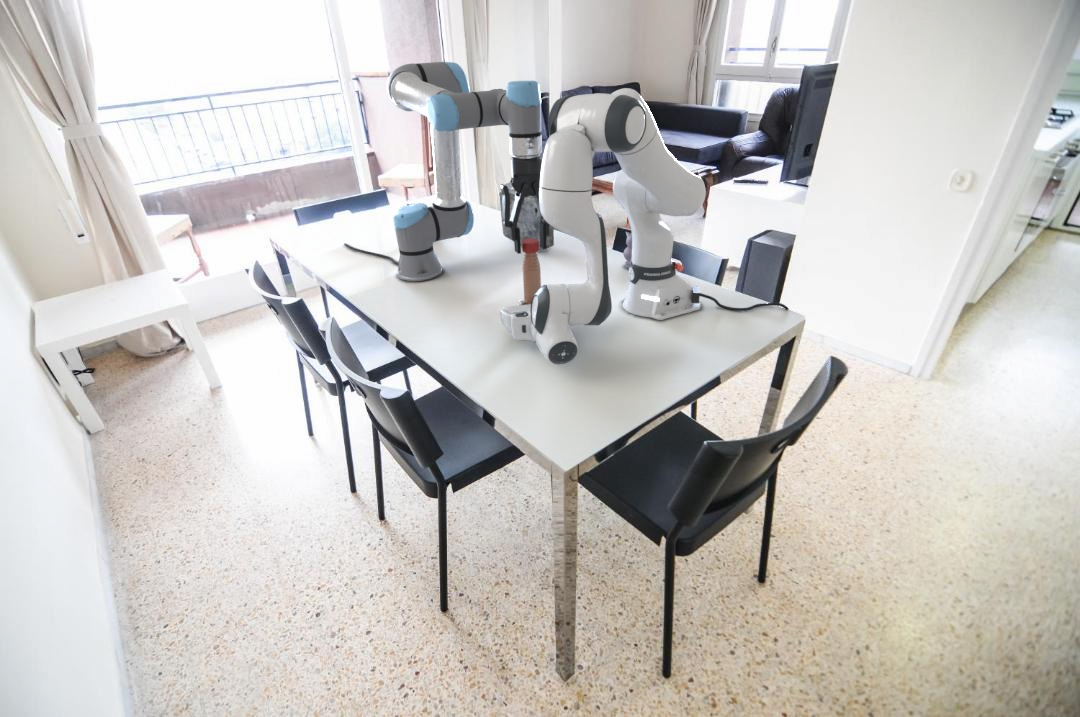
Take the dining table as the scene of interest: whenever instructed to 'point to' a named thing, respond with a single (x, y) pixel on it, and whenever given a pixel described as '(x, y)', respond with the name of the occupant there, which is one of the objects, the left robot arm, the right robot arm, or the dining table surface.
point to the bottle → (531, 276)
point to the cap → (530, 245)
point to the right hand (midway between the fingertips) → (532, 301)
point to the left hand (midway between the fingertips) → (530, 249)
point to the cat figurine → (628, 250)
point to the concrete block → (528, 221)
